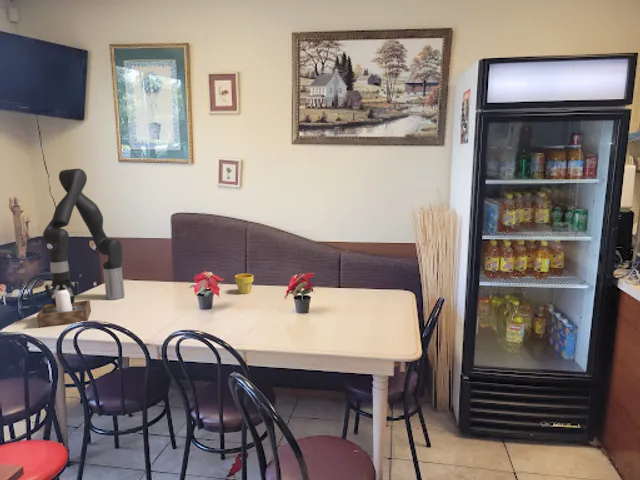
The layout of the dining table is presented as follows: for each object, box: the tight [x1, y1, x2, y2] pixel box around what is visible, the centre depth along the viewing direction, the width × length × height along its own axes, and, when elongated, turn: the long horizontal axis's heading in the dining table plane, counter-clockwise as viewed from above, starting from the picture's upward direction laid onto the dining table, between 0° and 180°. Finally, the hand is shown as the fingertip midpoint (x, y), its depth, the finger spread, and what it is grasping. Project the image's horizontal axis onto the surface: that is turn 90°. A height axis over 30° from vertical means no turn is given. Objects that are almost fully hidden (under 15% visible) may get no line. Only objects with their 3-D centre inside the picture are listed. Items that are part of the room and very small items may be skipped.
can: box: [55, 289, 72, 313], centre depth 215 cm, size 6×6×12 cm
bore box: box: [36, 299, 92, 329], centre depth 217 cm, size 20×16×6 cm
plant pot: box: [234, 273, 254, 295], centre depth 256 cm, size 10×10×10 cm
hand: (64, 304), depth 216 cm, fingers closed on can, 6 cm apart
